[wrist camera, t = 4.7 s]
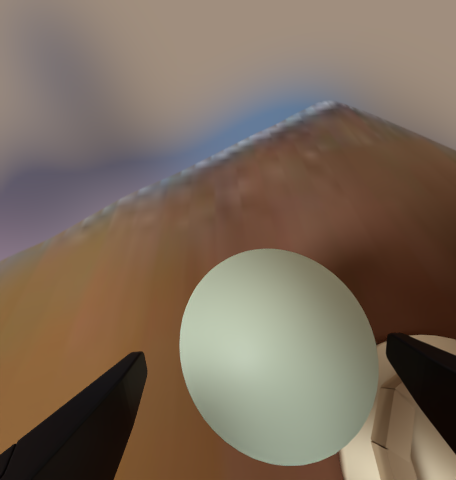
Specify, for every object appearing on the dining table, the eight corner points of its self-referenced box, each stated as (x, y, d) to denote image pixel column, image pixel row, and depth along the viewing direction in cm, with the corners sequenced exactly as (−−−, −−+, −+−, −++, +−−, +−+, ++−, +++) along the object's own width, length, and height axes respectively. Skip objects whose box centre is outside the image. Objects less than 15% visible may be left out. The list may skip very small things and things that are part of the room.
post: (270, 418, 13) (348, 542, 3) (207, 372, 14) (139, 370, 5) (298, 344, 15) (394, 295, 5) (240, 311, 16) (237, 226, 7)
